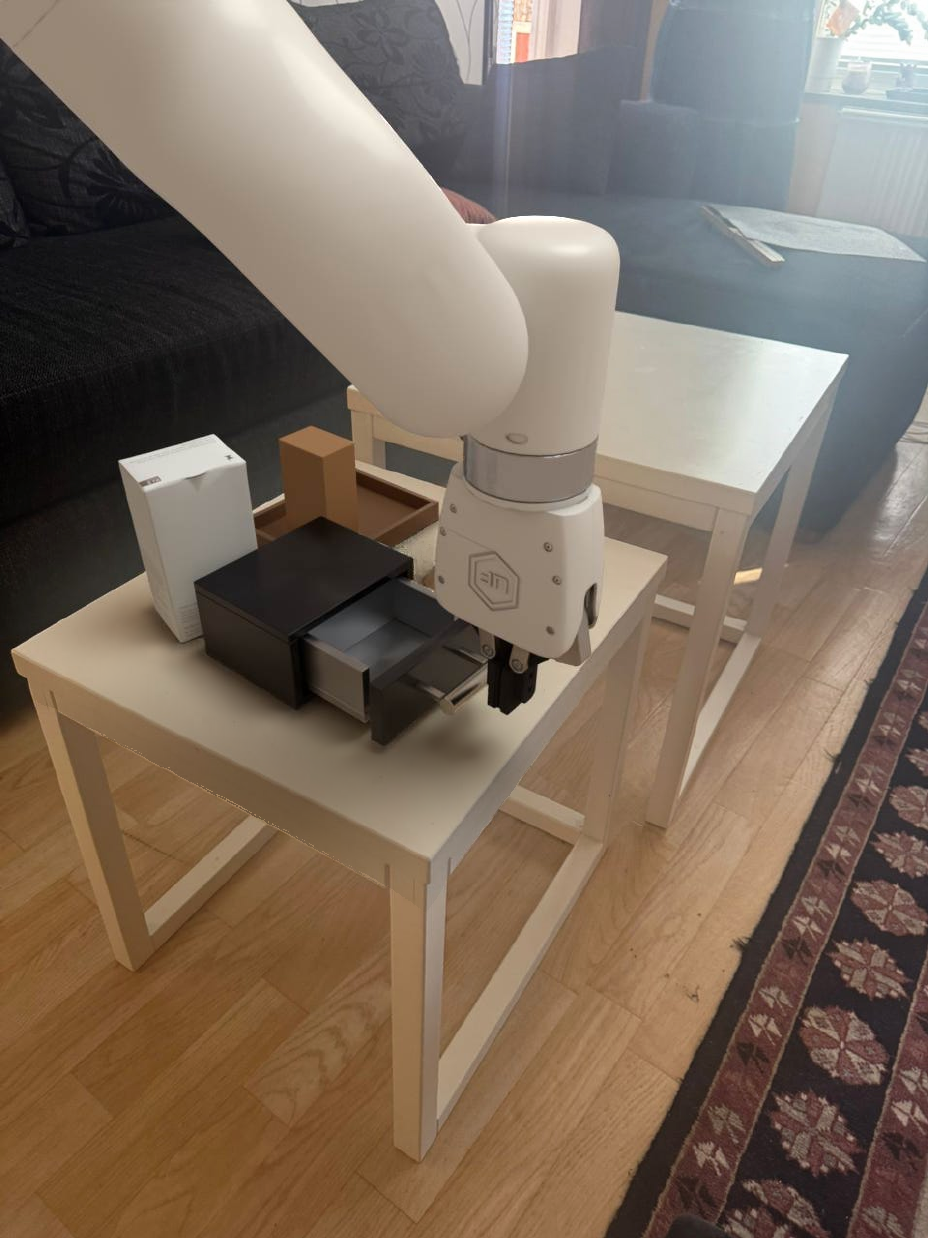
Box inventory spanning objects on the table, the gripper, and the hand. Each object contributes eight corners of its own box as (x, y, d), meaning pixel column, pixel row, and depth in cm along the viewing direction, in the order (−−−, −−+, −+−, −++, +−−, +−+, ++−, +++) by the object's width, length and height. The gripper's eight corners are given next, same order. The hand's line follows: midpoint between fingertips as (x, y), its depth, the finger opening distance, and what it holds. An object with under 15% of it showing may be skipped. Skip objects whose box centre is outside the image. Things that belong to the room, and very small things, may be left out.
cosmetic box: (240, 582, 79) (217, 429, 70) (270, 614, 75) (250, 457, 66) (149, 613, 75) (114, 454, 66) (177, 648, 71) (143, 485, 62)
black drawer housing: (414, 628, 74) (413, 557, 70) (297, 710, 65) (288, 635, 61) (326, 583, 79) (320, 515, 75) (206, 654, 71) (192, 581, 66)
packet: (329, 565, 81) (322, 457, 74) (289, 545, 83) (278, 438, 77) (359, 548, 83) (354, 442, 77) (319, 529, 86) (310, 425, 79)
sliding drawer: (526, 681, 68) (531, 627, 64) (423, 771, 60) (424, 714, 56) (398, 617, 74) (398, 564, 71) (290, 690, 66) (284, 635, 63)
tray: (326, 586, 79) (324, 567, 78) (237, 541, 85) (234, 522, 84) (438, 519, 89) (439, 501, 88) (352, 483, 95) (352, 466, 94)
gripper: (386, 441, 51) (393, 682, 61) (609, 526, 43) (572, 782, 54) (466, 404, 55) (459, 633, 66) (678, 474, 48) (631, 719, 59)
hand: (509, 699), depth 60 cm, fingers closed
